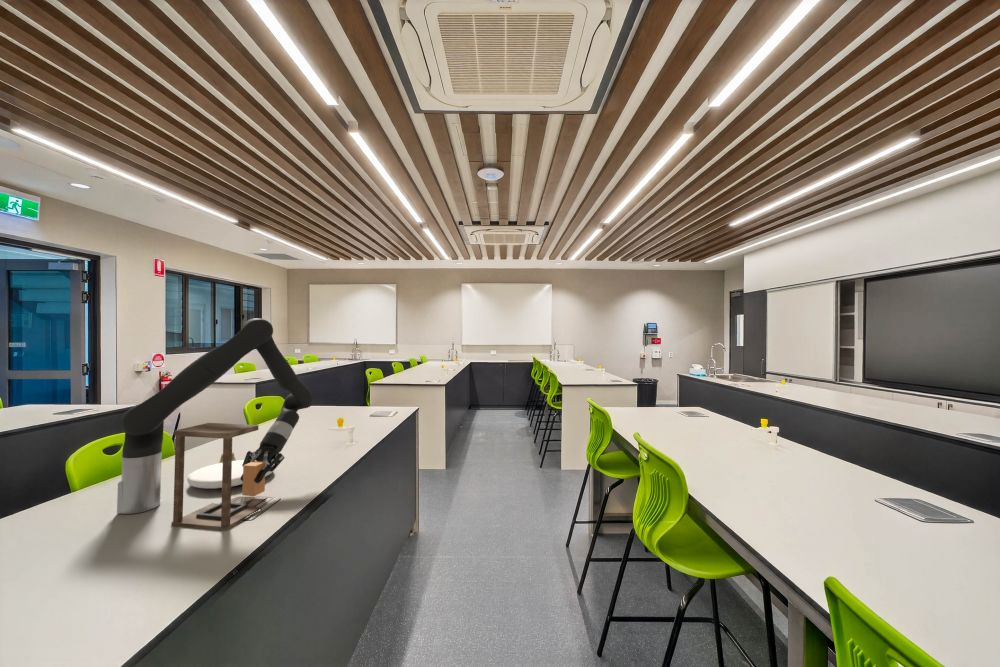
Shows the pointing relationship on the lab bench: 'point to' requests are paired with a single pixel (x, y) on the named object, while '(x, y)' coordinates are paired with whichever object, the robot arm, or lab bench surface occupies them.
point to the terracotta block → (252, 479)
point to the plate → (216, 475)
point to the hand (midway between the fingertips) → (249, 481)
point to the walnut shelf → (225, 511)
